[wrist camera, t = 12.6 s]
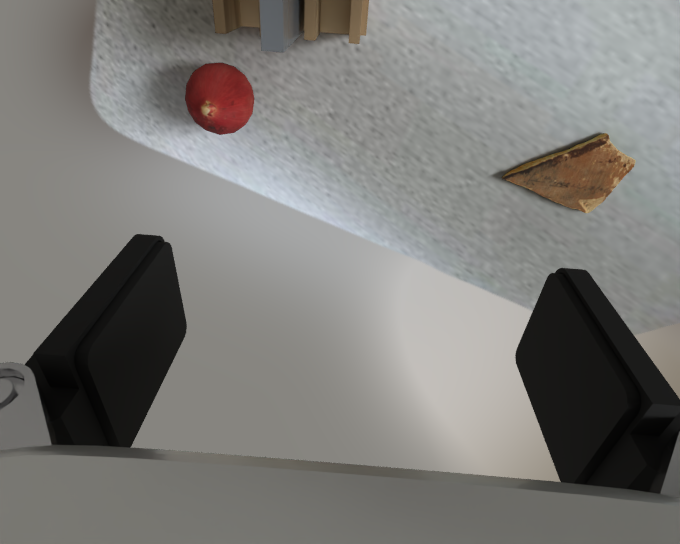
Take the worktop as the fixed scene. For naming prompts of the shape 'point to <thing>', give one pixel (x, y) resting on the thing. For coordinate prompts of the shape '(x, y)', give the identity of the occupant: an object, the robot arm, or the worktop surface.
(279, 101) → the worktop surface
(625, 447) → the robot arm
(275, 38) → the plate
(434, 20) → the worktop surface
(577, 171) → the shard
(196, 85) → the onion
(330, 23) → the rack
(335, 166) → the worktop surface
